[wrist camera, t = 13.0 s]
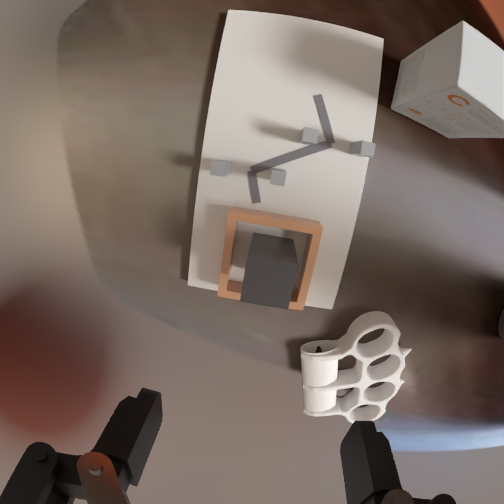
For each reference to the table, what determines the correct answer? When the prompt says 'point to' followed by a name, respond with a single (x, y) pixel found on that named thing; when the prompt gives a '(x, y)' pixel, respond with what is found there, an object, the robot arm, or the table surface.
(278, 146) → the board
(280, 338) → the table surface
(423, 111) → the small box
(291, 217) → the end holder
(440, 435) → the table surface
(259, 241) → the dark grey block
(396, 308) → the table surface
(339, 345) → the white brass knuckles
